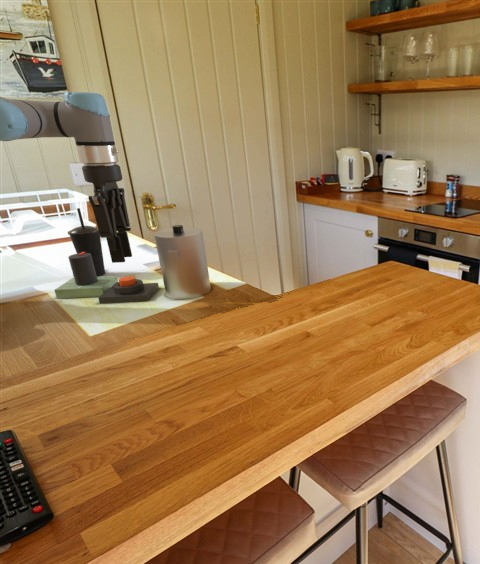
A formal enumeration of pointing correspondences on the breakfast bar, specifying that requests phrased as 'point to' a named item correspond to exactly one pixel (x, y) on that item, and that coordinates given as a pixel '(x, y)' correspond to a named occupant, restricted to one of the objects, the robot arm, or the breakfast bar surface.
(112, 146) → the robot arm
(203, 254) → the metal canister
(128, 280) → the power switch
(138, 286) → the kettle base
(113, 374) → the breakfast bar surface
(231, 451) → the breakfast bar surface
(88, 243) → the drinking cup
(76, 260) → the dial
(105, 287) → the dial panel
